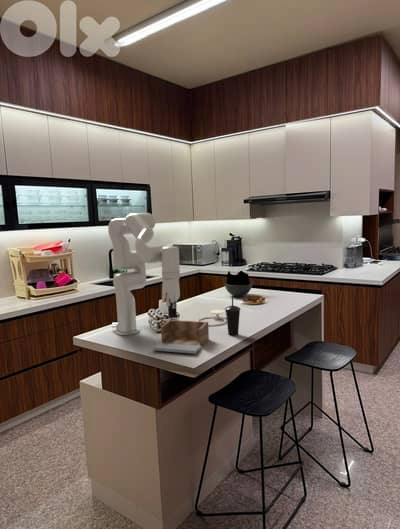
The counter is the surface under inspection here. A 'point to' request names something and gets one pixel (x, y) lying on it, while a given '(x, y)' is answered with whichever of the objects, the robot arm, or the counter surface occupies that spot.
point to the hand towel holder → (215, 317)
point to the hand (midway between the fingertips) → (172, 316)
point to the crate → (185, 332)
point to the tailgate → (177, 348)
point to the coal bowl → (238, 284)
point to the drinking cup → (232, 319)
